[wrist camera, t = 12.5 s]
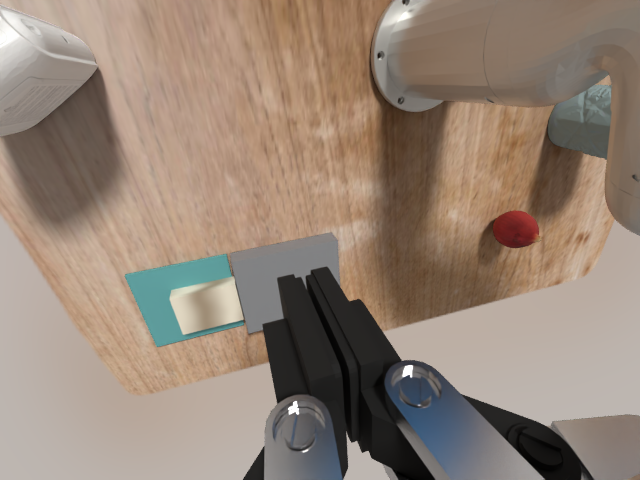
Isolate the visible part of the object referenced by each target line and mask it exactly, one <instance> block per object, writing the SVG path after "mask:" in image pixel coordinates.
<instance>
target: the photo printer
mask: <svg viewBox="0 0 640 480" xmlns="http://www.w3.org/2000/svg"><path fill="white" fill-rule="evenodd" d="M97 67H98V65H97V64H96V63H95V58H94V56H93V53H92V52H91V50H90V48H89V47H88V46H87V45H86V44H85V43H84V42H83V41H82V40H81V39H80V38H78V37H77V36H75V35H73V34H70V33H67V32H65V31H64V30H63V29H62V28H61V27H59V26H57V25H55V24H52V23H50V22H47V21H44V20H42V19H39V18H36V17H34V16H31V15H28V14H26V13H23V12H21V11H18V10H15V9H12V8H10V7H7V6H4V5H2V4H0V137H2V136H6V135H10V134H14V133H19V132H22V131H25V130H27V129H29V128H31V127H33V126H34V125H36V124H37V123H39V122H40V121H41V120H43V119H44V118H45V117H46V116H48V115H49V114H50V113H51V112H52V111H53V110H55V109H56V108H57V107H58V106H59V105H61V104H62V103H63V102H64V101H65V100H66V99H67V98H69V97H70V96H71V95H72V94H73V93H74V92H75V91H76V90H77V89H79V88H80V87H81V86H82V85H83V84H84V83H85V82H86V81H87V80H88V79H89V78H90V77H91V76H92V75H93V73H94V72H95V70H96V69H97Z"/></svg>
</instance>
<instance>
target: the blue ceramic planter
mask: <svg viewBox="0 0 640 480" xmlns="http://www.w3.org/2000/svg"><path fill="white" fill-rule="evenodd" d="M611 87H612V85H610V86H608V85H593V86H592V87H590V88H589V89H587V90H586V91H584V92H582V93H580V94H579V95H577V96H575V97H573V98H571V99H569V100H567V101H564V102H561V103H558V104H556V105H555V107H554V109H553V111H552V113H551V115H550V118H549V122H548V136H549V139H550V141H551V142H552V143H554V144H555V145H557V146H560V147H564V148H567V149H572V150H576V151H582V152H583V153H585V154H589V155H591V156H596V157H600V158H605V159H606V160H607V153H608V143H609V134H610V124H611V114H612V112H611V109H610V105H611Z"/></svg>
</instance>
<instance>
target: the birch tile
mask: <svg viewBox="0 0 640 480" xmlns="http://www.w3.org/2000/svg"><path fill="white" fill-rule="evenodd" d="M170 302H171V305H172V307H173V310H174V312H175V315H176V318H177V320H178V323H179V325H180V328H181V331H182V333H183V335H185V334H189V333H193V332H197V331H201V330H205V329H209V328H213V327H217V326H221V325H224V324H228V323H232V322H236V321H240V320H244V315H243V309H242V305H241V301H240V297H239V293H238V289H237V285H236V281H235V276H233V277H229V278H224V279H219V280H215V281H210V282H206V283H201V284H197V285H192V286H188V287H183V288H178V289H174V290H171V294H170Z"/></svg>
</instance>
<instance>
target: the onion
mask: <svg viewBox="0 0 640 480" xmlns="http://www.w3.org/2000/svg"><path fill="white" fill-rule="evenodd" d="M493 233H494V236H495V238H496V240H497V241H499V242H500V243H501V244H503V245H505V246H507V247H510V248H520V247H525V246H529V245H531V244H532V243H534V242H539V241H541V240H542V237H540V236H538V235H539V227H538V225H537V222H536V220H535V219H534V218H533V217H532V216H530V215H529V214H527V213H526V212H523V211H510V212H506V213H504V214H502V215H501V216H499V217H498V218H496V220H495V222H494V225H493Z"/></svg>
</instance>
